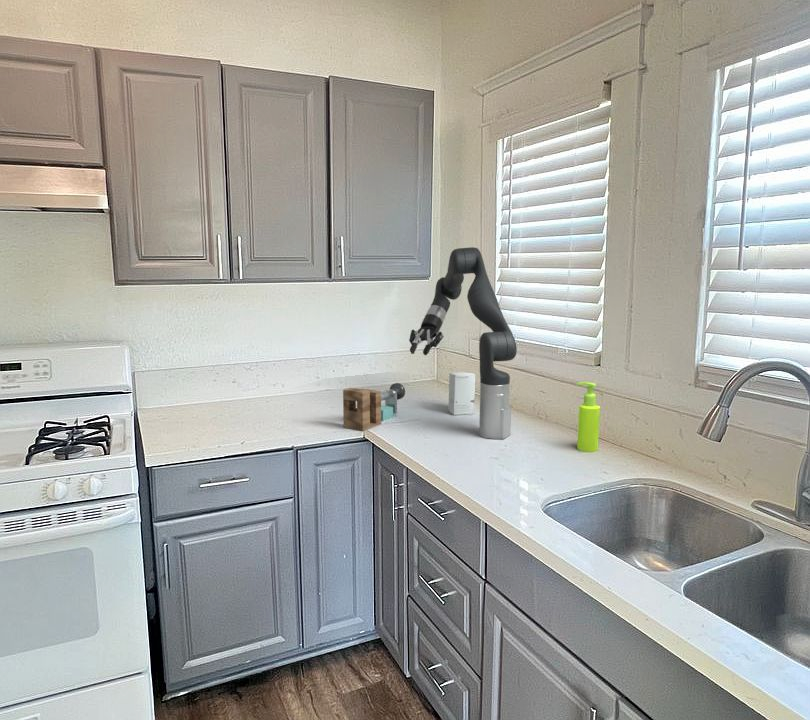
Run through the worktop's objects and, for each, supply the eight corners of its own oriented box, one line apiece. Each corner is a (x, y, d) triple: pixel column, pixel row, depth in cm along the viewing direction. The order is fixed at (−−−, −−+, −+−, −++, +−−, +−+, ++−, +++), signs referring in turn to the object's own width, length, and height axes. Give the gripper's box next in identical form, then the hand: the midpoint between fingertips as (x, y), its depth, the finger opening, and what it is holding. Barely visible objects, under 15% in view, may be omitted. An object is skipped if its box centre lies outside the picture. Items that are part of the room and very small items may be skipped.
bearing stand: (381, 424, 208) (380, 386, 206) (362, 431, 199) (362, 392, 197) (362, 420, 212) (362, 384, 210) (343, 427, 204) (343, 389, 202)
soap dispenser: (578, 444, 186) (581, 379, 182) (600, 448, 181) (604, 382, 178) (570, 448, 181) (573, 383, 178) (593, 453, 177) (596, 386, 174)
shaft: (405, 411, 222) (405, 383, 221) (372, 423, 205) (371, 394, 204) (391, 409, 226) (391, 382, 224) (357, 421, 208) (357, 392, 207)
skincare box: (453, 415, 219) (454, 375, 217) (447, 411, 225) (448, 372, 222) (475, 413, 222) (475, 373, 219) (468, 410, 227) (469, 371, 225)
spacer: (393, 418, 217) (393, 407, 216) (383, 421, 212) (383, 410, 211) (381, 416, 220) (381, 405, 219) (371, 419, 215) (371, 408, 214)
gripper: (415, 312, 242) (398, 345, 234) (446, 314, 234) (430, 348, 226) (421, 324, 247) (405, 357, 239) (453, 326, 239) (437, 360, 231)
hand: (418, 353), depth 232 cm, fingers open, 5 cm apart
